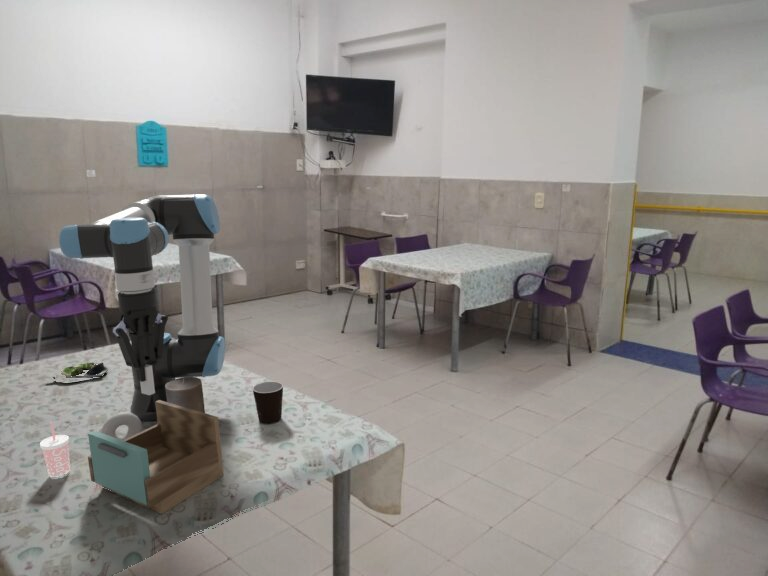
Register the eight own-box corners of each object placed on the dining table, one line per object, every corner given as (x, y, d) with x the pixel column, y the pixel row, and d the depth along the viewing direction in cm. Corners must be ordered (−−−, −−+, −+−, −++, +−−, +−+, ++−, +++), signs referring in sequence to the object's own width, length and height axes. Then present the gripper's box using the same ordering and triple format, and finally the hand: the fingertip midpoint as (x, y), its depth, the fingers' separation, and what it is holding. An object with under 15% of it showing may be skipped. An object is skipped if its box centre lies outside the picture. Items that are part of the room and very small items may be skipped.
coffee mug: (278, 427, 160) (276, 393, 158) (250, 424, 162) (247, 392, 159) (293, 409, 171) (291, 378, 169) (266, 407, 173) (264, 376, 171)
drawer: (92, 492, 129) (84, 432, 126) (165, 454, 146) (159, 399, 143) (152, 519, 119) (144, 454, 116) (223, 475, 135) (218, 417, 132)
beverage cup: (43, 484, 133) (34, 429, 130) (47, 471, 139) (38, 418, 136) (72, 477, 136) (64, 423, 133) (75, 465, 141) (67, 413, 138)
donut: (105, 456, 145) (100, 420, 143) (102, 451, 148) (97, 416, 146) (145, 444, 152) (141, 409, 149) (141, 439, 154) (137, 405, 152)
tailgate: (90, 484, 127) (83, 435, 125) (101, 479, 129) (94, 430, 127) (142, 507, 118) (135, 455, 115) (153, 501, 120) (147, 449, 118)
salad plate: (49, 392, 190) (47, 379, 189) (42, 376, 204) (40, 364, 203) (112, 378, 201) (110, 365, 200) (101, 364, 215) (100, 353, 214)
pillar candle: (208, 419, 166) (203, 370, 162) (204, 434, 156) (198, 383, 153) (174, 423, 164) (168, 374, 161) (167, 438, 155) (160, 386, 152)
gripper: (120, 298, 115) (133, 406, 120) (173, 286, 126) (183, 386, 131) (97, 294, 119) (111, 400, 124) (151, 283, 130) (161, 380, 135)
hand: (148, 392), depth 127 cm, fingers closed
